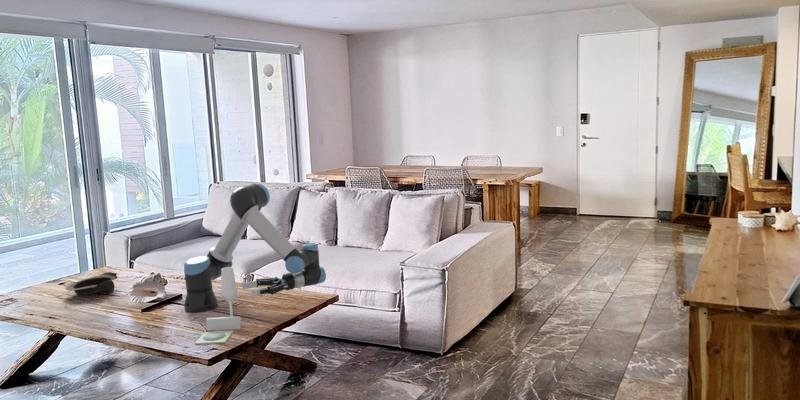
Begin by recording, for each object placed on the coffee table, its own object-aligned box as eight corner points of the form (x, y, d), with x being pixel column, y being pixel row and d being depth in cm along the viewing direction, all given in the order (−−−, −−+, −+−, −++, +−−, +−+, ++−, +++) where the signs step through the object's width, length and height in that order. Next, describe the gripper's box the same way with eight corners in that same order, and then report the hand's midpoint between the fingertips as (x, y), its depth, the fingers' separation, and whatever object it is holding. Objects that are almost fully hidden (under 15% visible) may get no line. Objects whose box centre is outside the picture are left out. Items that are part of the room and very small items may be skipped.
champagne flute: (227, 319, 269) (221, 266, 266) (242, 318, 269) (237, 266, 265) (222, 324, 263) (216, 270, 259) (237, 324, 262) (232, 270, 259)
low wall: (207, 330, 256) (205, 319, 255) (208, 329, 258) (207, 318, 257) (240, 328, 256) (239, 317, 255) (241, 327, 258) (240, 316, 257)
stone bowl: (129, 289, 326) (126, 272, 324) (85, 306, 306) (81, 289, 304) (102, 283, 339) (99, 267, 337) (58, 299, 319) (55, 283, 317)
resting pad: (195, 344, 241) (194, 342, 241) (204, 333, 253) (204, 331, 253) (225, 342, 241) (225, 341, 241) (233, 331, 253) (233, 330, 253)
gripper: (303, 294, 268) (257, 305, 257) (283, 282, 289) (239, 291, 279) (302, 278, 267) (255, 287, 256) (282, 267, 288) (238, 275, 277)
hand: (247, 289), depth 267 cm, fingers open, 13 cm apart
